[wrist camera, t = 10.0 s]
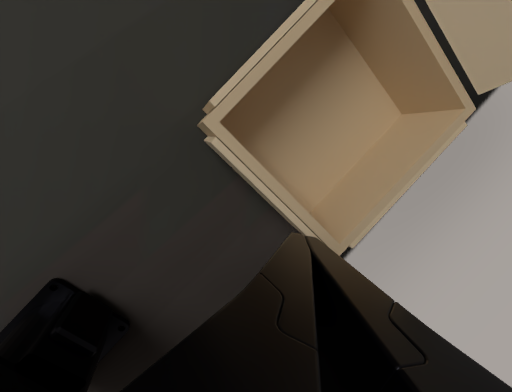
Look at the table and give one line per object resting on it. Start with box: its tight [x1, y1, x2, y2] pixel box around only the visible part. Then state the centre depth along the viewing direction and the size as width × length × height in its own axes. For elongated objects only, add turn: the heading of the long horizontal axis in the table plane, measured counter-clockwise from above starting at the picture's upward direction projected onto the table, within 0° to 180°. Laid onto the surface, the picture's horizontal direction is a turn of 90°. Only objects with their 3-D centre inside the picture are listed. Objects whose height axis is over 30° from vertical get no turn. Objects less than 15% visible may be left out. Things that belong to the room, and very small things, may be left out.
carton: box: [197, 0, 476, 256], centre depth 19 cm, size 14×12×6 cm
